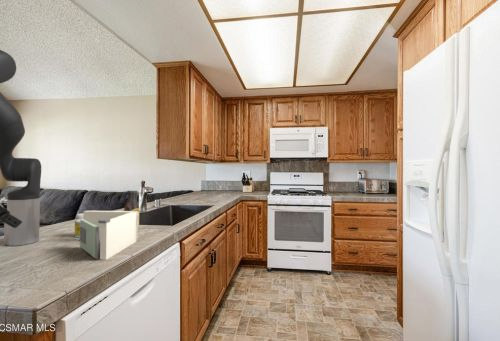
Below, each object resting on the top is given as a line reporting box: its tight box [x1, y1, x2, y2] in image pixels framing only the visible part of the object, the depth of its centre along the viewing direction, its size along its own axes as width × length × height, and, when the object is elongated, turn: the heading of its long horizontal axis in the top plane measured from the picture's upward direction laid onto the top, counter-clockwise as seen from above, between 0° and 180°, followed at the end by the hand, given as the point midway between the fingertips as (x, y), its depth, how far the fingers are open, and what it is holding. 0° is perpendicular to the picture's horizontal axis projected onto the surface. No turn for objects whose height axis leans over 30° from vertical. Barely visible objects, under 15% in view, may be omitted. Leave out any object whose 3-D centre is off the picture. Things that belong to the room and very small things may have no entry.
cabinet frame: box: [83, 210, 139, 261], centre depth 86 cm, size 22×22×13 cm
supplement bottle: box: [74, 213, 83, 239], centre depth 102 cm, size 5×5×10 cm
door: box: [79, 219, 100, 259], centre depth 81 cm, size 18×1×10 cm, turn 49°
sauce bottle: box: [123, 189, 140, 232], centre depth 104 cm, size 6×6×20 cm
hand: (18, 224), depth 65 cm, fingers closed
